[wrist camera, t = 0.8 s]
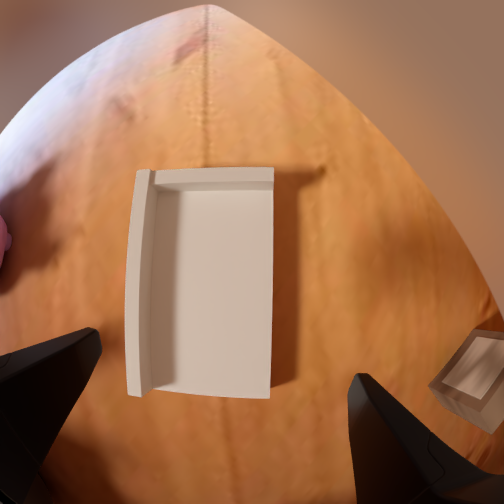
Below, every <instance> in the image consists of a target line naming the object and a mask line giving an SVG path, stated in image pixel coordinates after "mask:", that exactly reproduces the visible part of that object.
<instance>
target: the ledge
mask: <svg viewBox="0 0 504 504" xmlns="http://www.w3.org/2000/svg"><path fill="white" fill-rule="evenodd" d="M273 188H274V167H217V168H190V169H172V170H157V171H152V170H151V169H144V170H137V174H136V180H135V187H134V194H133V202H132V210H131V218H130V228H129V238H128V250H127V265H126V285H125V355H126V374H127V388H128V395H132V396H137V397H143V396H144V395H145V394H146V393H148V392H149V391H150V390H151V389H158V390H165V391H172V392H180V393H188V394H197V395H208V396H220V397H236V398H267V399H270V375H271V342H272V297H273Z"/></svg>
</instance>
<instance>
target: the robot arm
mask: <svg viewBox="0 0 504 504" xmlns="http://www.w3.org/2000/svg"><path fill="white" fill-rule="evenodd" d="M101 353H102V345H101V340H100V335H99V332H98V330H96V329H93V328H90V327H87V328H84V329H81V330H78V331H75V332H72V333H69V334H66V335H63V336H60V337H57V338H54V339H51V340H48V341H45V342H42V343H39V344H36V345H33V346H30V347H27V348H24V349H21V350H18V351H15V352H12V353H8V354H5V355H2V356H0V490H1V491H2V492H3V493H4V494H6V495H7V496H8V497H9V498H10V499H12V500H13V501H14V502H15V503H17V504H23V503H24V501H25V499H26V497H27V495H28V492H29V490H30V488H31V486H32V484H33V482H34V480H35V478H36V476H37V474H38V472H39V470H40V468H41V467H40V466H41V465H42V463H43V461H44V459H45V457H46V456H47V454H48V452H49V450H50V448H51V446H52V444H53V442H54V440H55V439H56V437H57V435H58V433H59V431H60V430H61V428H62V426H63V424H64V422H65V421H66V419H67V417H68V415H69V414H70V412H71V410H72V408H73V407H74V405H75V403H76V402H77V400H78V398H79V397H80V395H81V393H82V392H83V390H84V388H85V386H86V385H87V383H88V381H89V379H90V377H91V374H92V372H93V370H94V368H95V366H96V364H97V362H98V360H99V358H100V356H101ZM348 427H349V440H350V447H351V454H352V462H353V470H354V479H355V488H356V498H357V504H504V475H495V474H489V473H486V472H484V471H482V470H481V469H479V468H478V467H476V466H475V465H473V464H472V463H471V462H469V461H468V460H466V459H465V458H464V457H462V456H461V455H459V454H458V453H457V452H455V451H454V450H453V449H451V448H450V447H449V446H448V445H446V444H445V443H444V442H443V441H442V440H440V439H439V438H438V437H437V436H436V435H435V434H434V433H433V432H430V430H429V429H428V428H427V427H426V426H425V425H424V424H423V423H421V422H420V421H419V420H418V419H417V418H416V417H415V416H414V415H413V414H412V413H411V412H409V411H408V410H407V409H406V408H405V407H404V406H403V405H402V404H401V403H400V402H398V401H397V400H396V399H395V398H394V397H393V396H392V395H391V394H390V393H389V392H388V391H387V390H385V389H384V388H383V387H382V386H381V385H380V384H379V383H378V382H377V381H376V380H375V379H373V378H372V377H371V376H370V375H369V374H367V373H357V374H356V375H355V376H354V378H353V381H352V383H351V386H350V388H349V391H348Z"/></svg>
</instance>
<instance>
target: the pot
mask: <svg viewBox="0 0 504 504" xmlns="http://www.w3.org/2000/svg"><path fill="white" fill-rule="evenodd" d="M11 243H12V237H11V235H10V234H9V233H7V226H6V223H5V222H4V220H3V218H2V217H1V215H0V268H1V264H2V260H3V255H4V251H7V250H9V248H10V246H11Z"/></svg>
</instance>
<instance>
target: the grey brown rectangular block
mask: <svg viewBox="0 0 504 504" xmlns="http://www.w3.org/2000/svg"><path fill="white" fill-rule="evenodd" d="M428 387H429V388H430V389H431V391H432V392H433V394H434V395H435V396H436V398H437V399H438V401H439V402H440V403H441V405H442V406H443V407H445V408H446V409H448V410H450V411H451V412H453V413H455V414H456V415H458V416H460V417H462V418H463V419H465V420H467V421H468V422H470V423H472V424H474V425H475V426H477V427H479V428H481V429H482V430H484V431H486V432H488V433H490V434H491V435H492V434H493V432H494V431H495V430H496V429H497V427H498V426H499V425H500V424H501V422H502V421H503V420H504V332H497V331H488V330H480V329H473V330H472V332H471V333H470V334H469V336H468V337H467V338H466V340H465V341H464V343H463V344H462V345H461V347H460V348H459V349H458V350H457V352H456V353H455V354H454V356H453V357H452V358H451V359H450V361H449V362H448V363H447V364H446V365H445V367H444V368H443V369H442V370H441V371H440V373H439V374H438V375H437V376H436V377H435V378H434V379H433V381H432V382H431V383H430V384H429V385H428Z"/></svg>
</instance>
